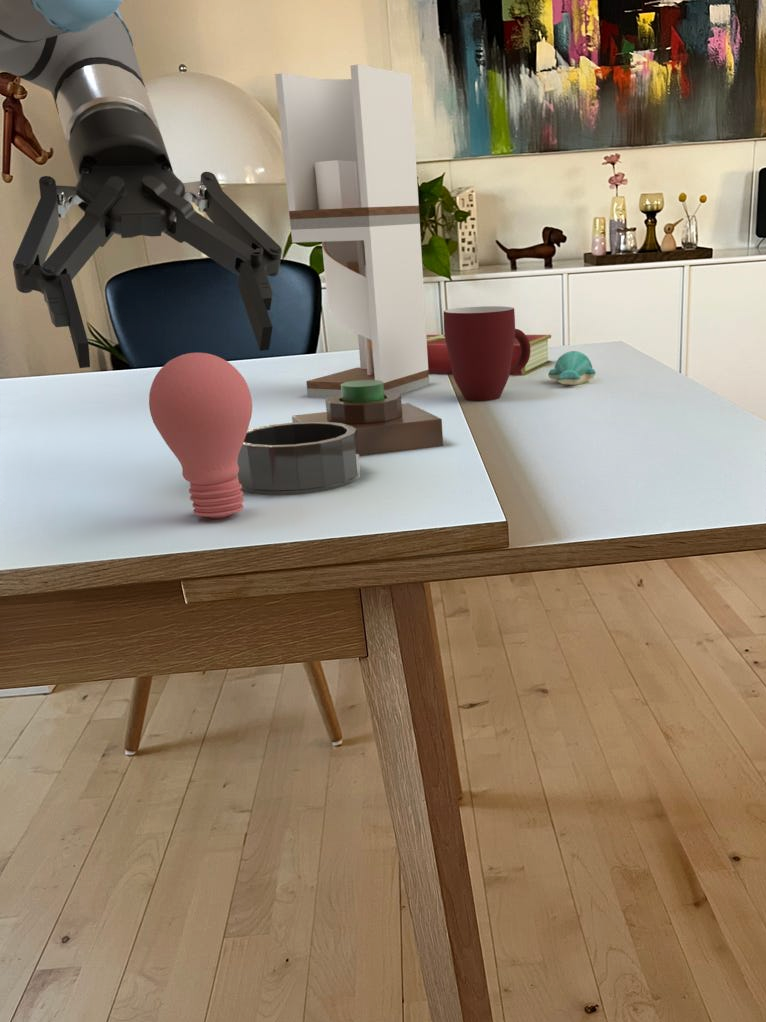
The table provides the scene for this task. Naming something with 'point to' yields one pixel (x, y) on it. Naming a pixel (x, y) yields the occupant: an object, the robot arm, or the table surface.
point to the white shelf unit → (360, 215)
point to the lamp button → (362, 391)
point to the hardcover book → (538, 359)
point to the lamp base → (382, 424)
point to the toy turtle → (572, 369)
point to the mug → (483, 349)
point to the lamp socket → (298, 458)
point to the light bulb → (204, 427)
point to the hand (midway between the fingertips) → (178, 347)
